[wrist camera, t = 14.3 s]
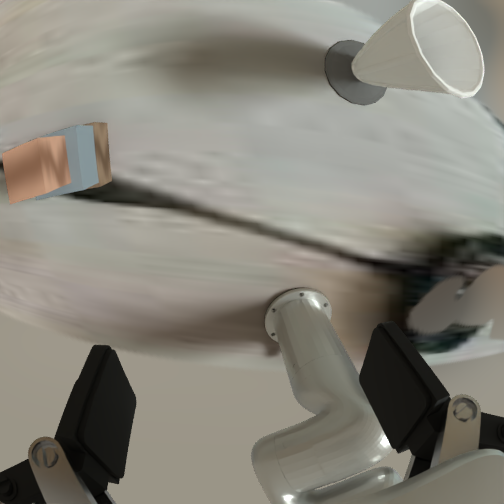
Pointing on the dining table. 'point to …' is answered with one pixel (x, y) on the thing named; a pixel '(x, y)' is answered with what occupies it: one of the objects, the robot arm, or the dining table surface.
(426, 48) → the cup
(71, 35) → the dining table surface
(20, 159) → the terracotta cube
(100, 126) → the tower base
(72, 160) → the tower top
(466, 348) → the dining table surface
